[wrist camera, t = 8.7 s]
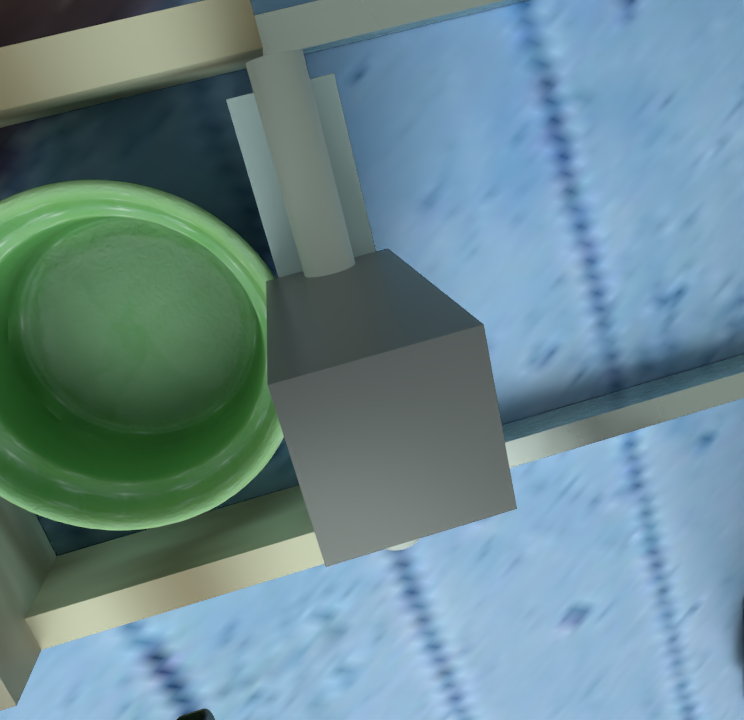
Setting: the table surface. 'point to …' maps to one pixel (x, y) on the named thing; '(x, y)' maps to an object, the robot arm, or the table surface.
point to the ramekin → (128, 356)
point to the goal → (278, 509)
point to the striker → (361, 339)
